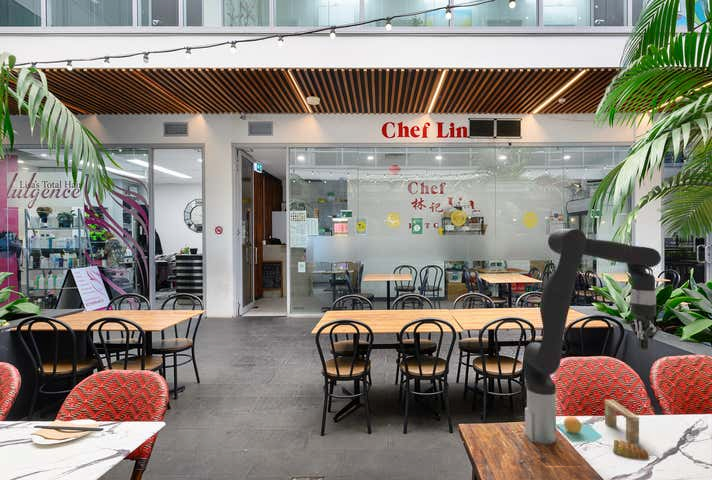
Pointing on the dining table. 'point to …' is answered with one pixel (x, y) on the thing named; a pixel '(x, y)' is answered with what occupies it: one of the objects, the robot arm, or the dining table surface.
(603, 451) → the dining table surface
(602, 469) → the dining table surface
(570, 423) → the ball
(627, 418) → the bridge
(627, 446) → the pastry
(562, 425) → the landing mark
